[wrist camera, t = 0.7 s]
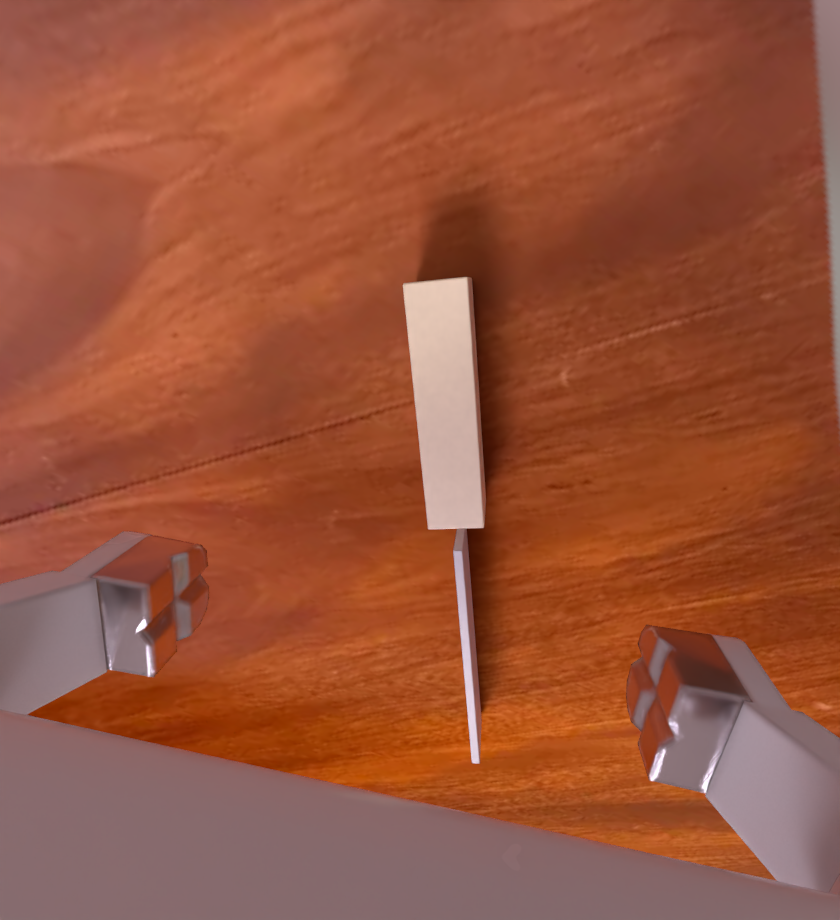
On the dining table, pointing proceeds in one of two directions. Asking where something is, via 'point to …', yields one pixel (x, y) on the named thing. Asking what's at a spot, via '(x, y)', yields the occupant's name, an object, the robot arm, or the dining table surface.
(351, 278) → the dining table surface
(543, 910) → the robot arm
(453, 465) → the butter knife
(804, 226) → the dining table surface
